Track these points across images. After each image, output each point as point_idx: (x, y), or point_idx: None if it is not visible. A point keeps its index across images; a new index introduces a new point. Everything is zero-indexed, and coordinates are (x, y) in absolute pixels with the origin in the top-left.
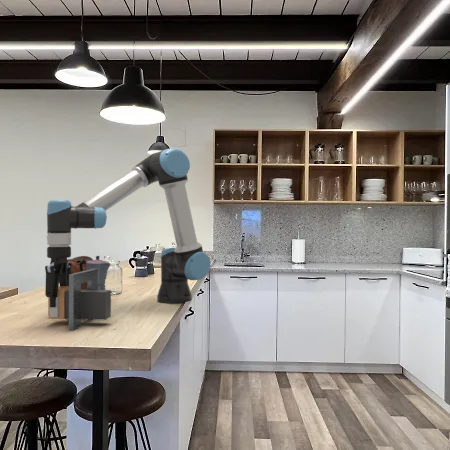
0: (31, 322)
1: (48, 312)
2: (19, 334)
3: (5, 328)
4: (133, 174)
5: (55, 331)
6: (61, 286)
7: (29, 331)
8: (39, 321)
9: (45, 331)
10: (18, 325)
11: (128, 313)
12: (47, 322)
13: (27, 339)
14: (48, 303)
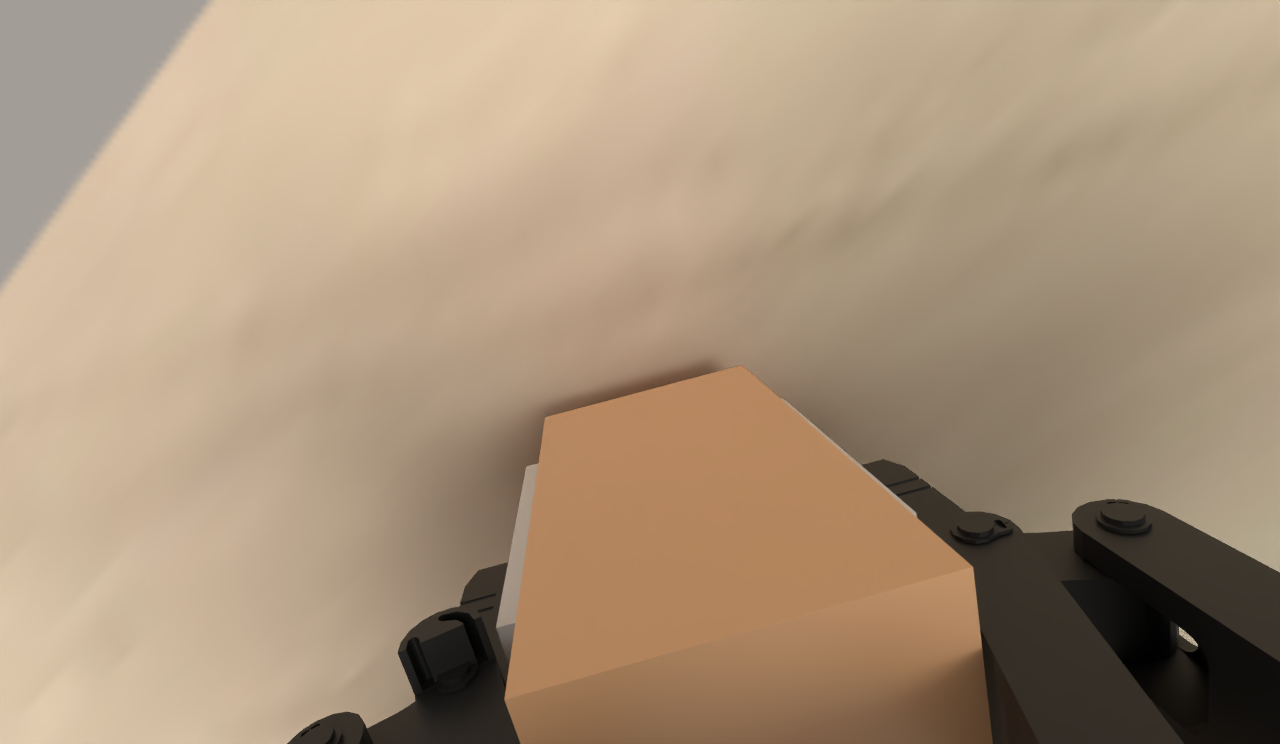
0: (571, 110)
1: (542, 447)
2: (101, 436)
3: (194, 46)
4: None
5: (371, 650)
6: (937, 725)
7: (244, 432)
8: (647, 166)
9: (326, 572)
10: (384, 78)
11: None
12: (639, 298)
13: (24, 646)
14: (534, 504)
